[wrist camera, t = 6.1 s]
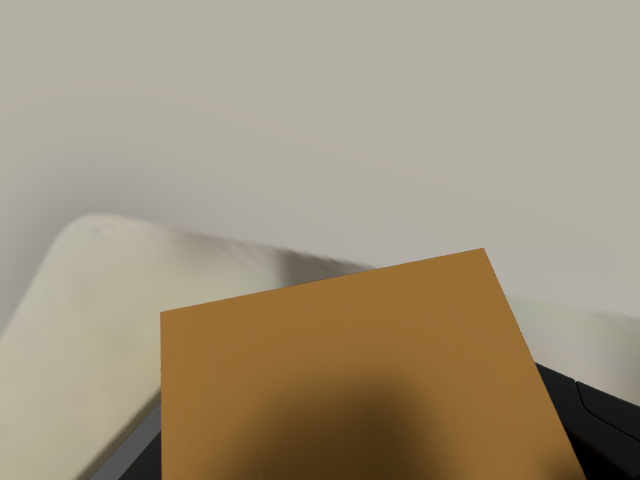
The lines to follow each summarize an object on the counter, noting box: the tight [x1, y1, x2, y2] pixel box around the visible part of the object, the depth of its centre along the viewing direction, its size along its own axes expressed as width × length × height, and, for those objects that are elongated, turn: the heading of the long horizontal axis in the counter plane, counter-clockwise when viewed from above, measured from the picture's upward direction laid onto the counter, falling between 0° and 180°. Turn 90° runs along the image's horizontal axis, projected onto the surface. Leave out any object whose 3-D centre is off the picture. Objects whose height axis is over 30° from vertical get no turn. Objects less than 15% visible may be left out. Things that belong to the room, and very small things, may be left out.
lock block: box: [160, 248, 586, 480], centre depth 9 cm, size 4×5×11 cm
